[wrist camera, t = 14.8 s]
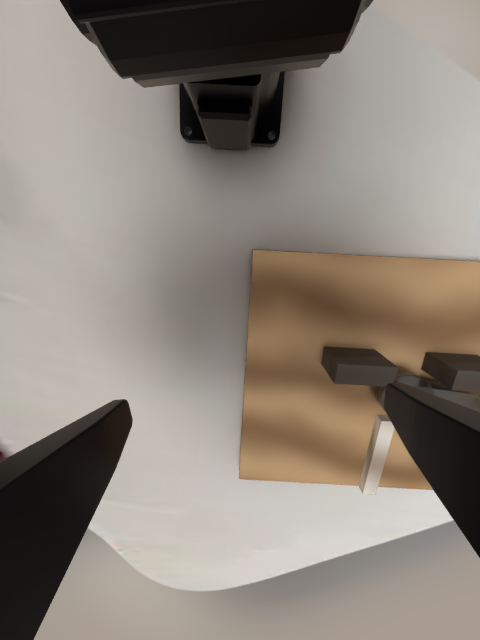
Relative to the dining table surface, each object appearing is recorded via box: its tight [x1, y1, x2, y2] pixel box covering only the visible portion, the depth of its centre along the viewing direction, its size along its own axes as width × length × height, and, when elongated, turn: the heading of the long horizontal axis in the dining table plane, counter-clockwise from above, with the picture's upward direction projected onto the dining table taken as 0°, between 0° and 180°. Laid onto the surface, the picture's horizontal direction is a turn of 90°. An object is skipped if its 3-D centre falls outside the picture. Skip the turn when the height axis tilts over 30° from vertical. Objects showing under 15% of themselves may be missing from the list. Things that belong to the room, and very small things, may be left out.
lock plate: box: [239, 250, 480, 495], centre depth 19 cm, size 21×23×4 cm
